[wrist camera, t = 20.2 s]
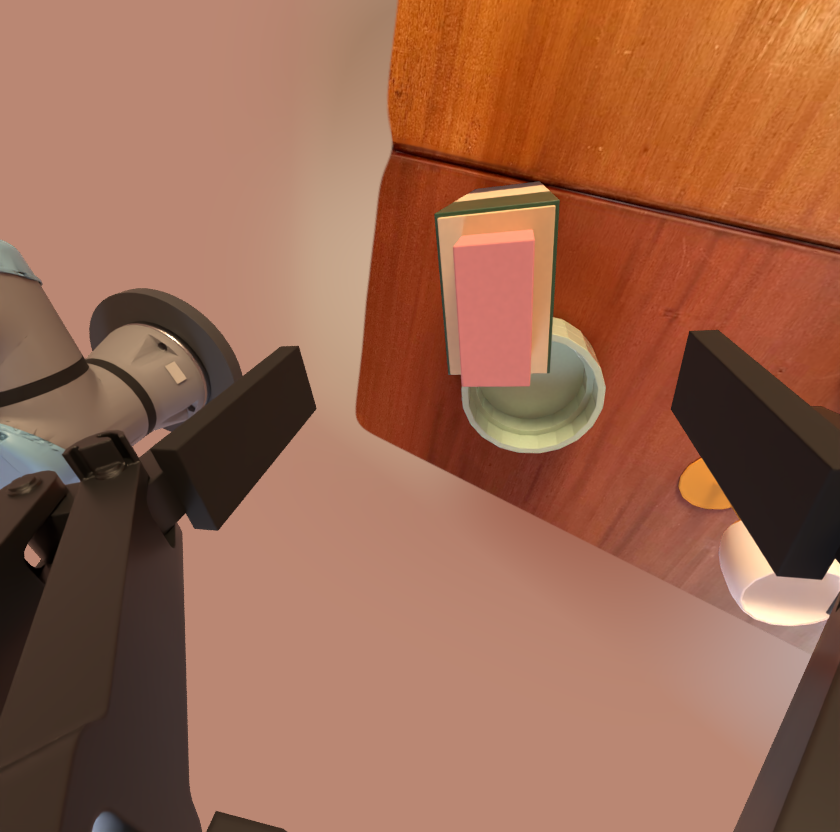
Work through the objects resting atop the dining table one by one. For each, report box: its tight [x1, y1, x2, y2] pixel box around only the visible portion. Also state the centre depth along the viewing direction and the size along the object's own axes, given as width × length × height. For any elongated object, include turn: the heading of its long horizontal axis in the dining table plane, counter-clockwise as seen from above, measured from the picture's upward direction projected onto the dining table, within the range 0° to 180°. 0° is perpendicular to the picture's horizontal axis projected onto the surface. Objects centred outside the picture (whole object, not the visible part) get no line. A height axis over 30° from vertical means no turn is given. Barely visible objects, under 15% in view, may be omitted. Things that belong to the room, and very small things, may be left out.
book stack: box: [435, 181, 560, 375], centre depth 31 cm, size 6×9×22 cm, turn 7°
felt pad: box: [437, 205, 555, 375], centre depth 22 cm, size 6×9×1 cm, turn 7°
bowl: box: [461, 317, 606, 453], centre depth 45 cm, size 14×14×6 cm
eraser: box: [453, 230, 535, 387], centre depth 20 cm, size 7×4×3 cm, turn 6°
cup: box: [678, 458, 840, 626], centre depth 43 cm, size 9×9×16 cm
